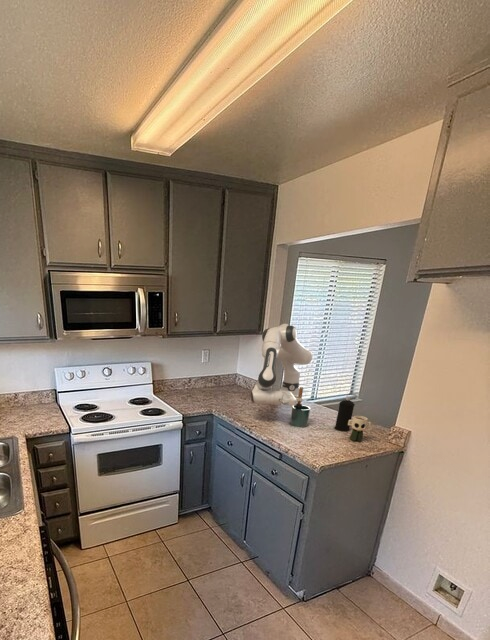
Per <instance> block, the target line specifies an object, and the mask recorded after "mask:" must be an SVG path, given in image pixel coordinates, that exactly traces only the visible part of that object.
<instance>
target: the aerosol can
mask: <svg viewBox="0 0 490 640" xmlns="http://www.w3.org/2000/svg"><path fill="white" fill-rule="evenodd" d="M338 404H339V405H338V410H337V416H336V421H335V426H334V429H335V430H336V431H340V432H349V431H350V429H351V428H350V427H351V426H350V425H348V421H349V420H352V419H353V414H354V412H353V411H354V409H355V405H356V404H355V403H354V402H353V401H352V400H351V396H349V395H347V396H346V397H345V399H343V400H341V401H339V402H338ZM350 424H352V422H350Z"/></svg>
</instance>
